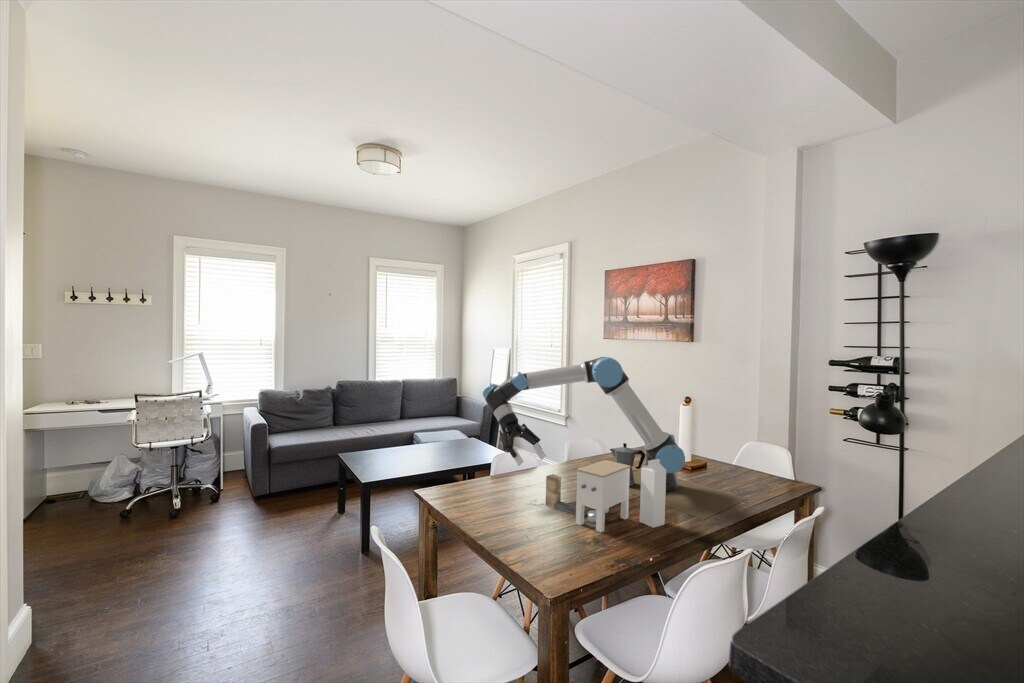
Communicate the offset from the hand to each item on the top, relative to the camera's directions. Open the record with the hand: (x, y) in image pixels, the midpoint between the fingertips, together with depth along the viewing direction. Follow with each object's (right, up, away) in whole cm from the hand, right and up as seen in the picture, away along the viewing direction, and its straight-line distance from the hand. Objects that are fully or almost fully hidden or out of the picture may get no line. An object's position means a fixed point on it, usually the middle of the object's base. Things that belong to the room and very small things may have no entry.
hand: (532, 460), depth 179 cm
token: (+21, -16, -20) cm, 33 cm away
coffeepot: (+42, -16, +22) cm, 50 cm away
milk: (+40, -16, -22) cm, 49 cm away
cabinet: (+23, -15, -21) cm, 35 cm away
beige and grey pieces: (+12, -15, -11) cm, 22 cm away
